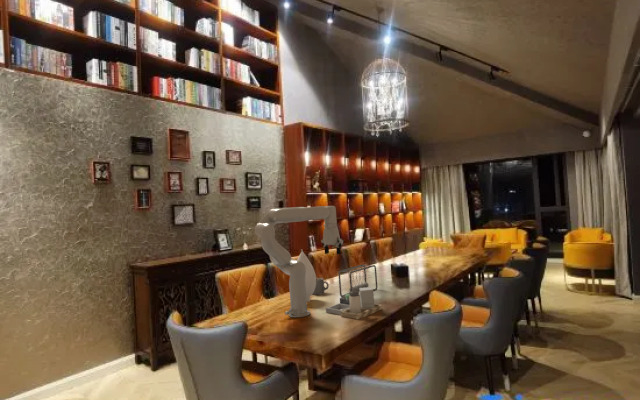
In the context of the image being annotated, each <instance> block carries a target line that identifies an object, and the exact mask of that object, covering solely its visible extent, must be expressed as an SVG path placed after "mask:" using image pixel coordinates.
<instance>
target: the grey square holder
mask: <svg viewBox="0 0 640 400" xmlns="http://www.w3.org/2000/svg"><path fill="white" fill-rule="evenodd" d="M339 303H340V304H346V305H350V302H349V299H346V296H345V297H339Z"/></svg>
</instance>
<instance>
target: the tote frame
mask: <svg viewBox="0 0 640 400" xmlns="http://www.w3.org/2000/svg"><path fill="white" fill-rule="evenodd" d="M347 309H350V305H346V304H340V302H339V303H337V304H333V305H331V306H328V307H326V308H325V313H327V314H333V315H338V316H341V312H342V311H344V310H347Z"/></svg>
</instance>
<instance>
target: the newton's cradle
mask: <svg viewBox="0 0 640 400" xmlns="http://www.w3.org/2000/svg"><path fill="white" fill-rule="evenodd" d="M371 268H374V279H375V281H374V282H375V288H372V289H373V292H375V291H377V289H378V276H377V274H378V273H377V266H376V265H374V264H373V265H372V264H371V265H369V264H367V265H366V264H365V263H364V264H359V265H356V266H352V267H349V268H346V269H341V270H339V272H338V274H337V275H338V286H339V287H338V288H339V296H340V298H342V297H345V295H346V294H350V291H359V288H367V287H369V283H368V282H367V273H368V272H367V270H368V269H371ZM361 271H362V277H363V281H361V279H362V278H361V277H359V280H358V279H357V278H358V275H356V276H355V277H352V276H354V274H355V273H358V274H359V275H361ZM341 273H347V274H348V276H349V277H348V278H349V289H348V290H349V292H348V293H345V294H343V293H342V283H341V282H342V281H341ZM354 278H356V279H354ZM353 280H356V282H358V283H357V284H356V283H355V282H353ZM353 285H354V286H353ZM359 295H360V293H359Z"/></svg>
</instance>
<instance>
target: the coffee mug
mask: <svg viewBox="0 0 640 400" xmlns="http://www.w3.org/2000/svg"><path fill="white" fill-rule="evenodd" d="M325 284H326V286H325ZM329 287H330V286H329V282H328V281H327V280H326V281H325V280H324V278H323V277H316V287H315V290H314V292H313V293H312V295H313V296H319V295H323V294H325V291H326V290H328V289H329ZM312 295H311V296H312Z"/></svg>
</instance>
